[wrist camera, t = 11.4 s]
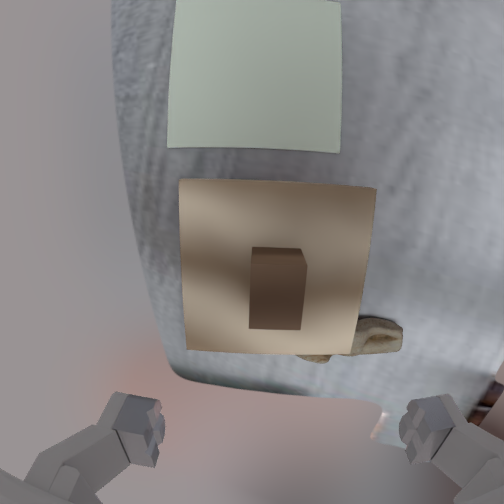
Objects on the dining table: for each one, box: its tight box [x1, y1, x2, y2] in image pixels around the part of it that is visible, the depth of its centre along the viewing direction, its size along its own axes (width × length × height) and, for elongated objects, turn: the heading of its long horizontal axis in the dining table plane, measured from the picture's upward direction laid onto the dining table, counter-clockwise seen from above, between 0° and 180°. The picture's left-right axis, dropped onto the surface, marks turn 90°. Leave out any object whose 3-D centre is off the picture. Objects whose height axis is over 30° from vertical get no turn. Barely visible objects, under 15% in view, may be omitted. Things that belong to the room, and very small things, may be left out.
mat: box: [167, 0, 342, 154], centre depth 29 cm, size 18×18×1 cm
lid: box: [179, 179, 377, 355], centre depth 19 cm, size 12×12×4 cm
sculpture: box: [296, 318, 403, 363], centre depth 36 cm, size 7×5×15 cm
